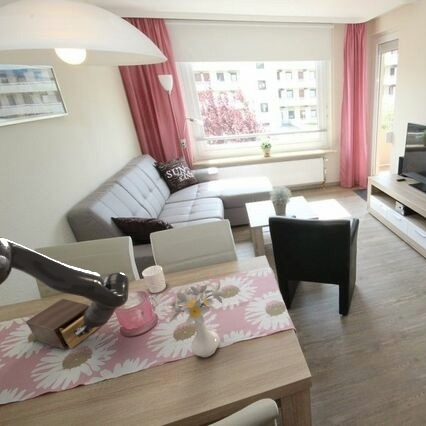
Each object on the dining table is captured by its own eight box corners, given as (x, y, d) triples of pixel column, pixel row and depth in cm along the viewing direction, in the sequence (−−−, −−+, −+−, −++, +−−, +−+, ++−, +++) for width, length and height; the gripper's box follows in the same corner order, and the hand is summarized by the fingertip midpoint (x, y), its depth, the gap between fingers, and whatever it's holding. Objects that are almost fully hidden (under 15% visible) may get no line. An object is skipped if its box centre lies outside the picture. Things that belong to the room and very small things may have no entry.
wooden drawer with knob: (104, 325, 114) (97, 310, 110) (74, 349, 104) (65, 333, 101) (77, 318, 118) (69, 303, 114) (45, 340, 108) (36, 324, 105)
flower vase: (239, 334, 108) (228, 280, 98) (202, 377, 93) (184, 318, 83) (212, 324, 113) (199, 271, 103) (173, 363, 98) (152, 305, 88)
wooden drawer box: (98, 323, 116) (89, 305, 112) (64, 349, 105) (53, 330, 101) (71, 316, 120) (62, 298, 116) (37, 340, 109) (25, 321, 105)
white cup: (164, 280, 139) (159, 263, 135) (169, 288, 134) (163, 270, 130) (146, 288, 135) (140, 270, 131) (150, 296, 129) (144, 278, 125)
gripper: (109, 291, 104) (96, 310, 112) (71, 318, 92) (60, 337, 101) (126, 305, 104) (111, 324, 113) (89, 333, 93) (77, 352, 102)
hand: (87, 330), depth 107 cm, fingers closed
